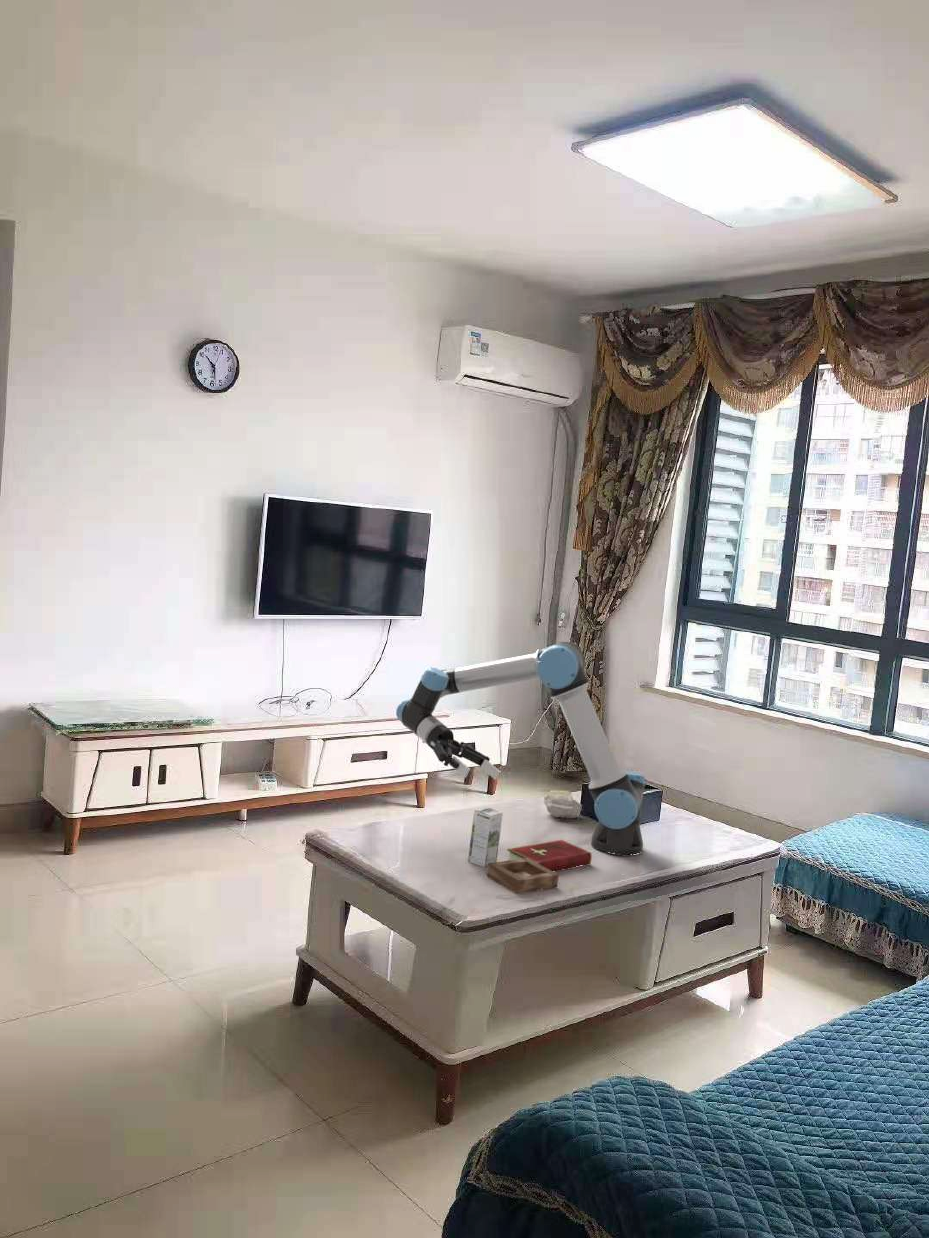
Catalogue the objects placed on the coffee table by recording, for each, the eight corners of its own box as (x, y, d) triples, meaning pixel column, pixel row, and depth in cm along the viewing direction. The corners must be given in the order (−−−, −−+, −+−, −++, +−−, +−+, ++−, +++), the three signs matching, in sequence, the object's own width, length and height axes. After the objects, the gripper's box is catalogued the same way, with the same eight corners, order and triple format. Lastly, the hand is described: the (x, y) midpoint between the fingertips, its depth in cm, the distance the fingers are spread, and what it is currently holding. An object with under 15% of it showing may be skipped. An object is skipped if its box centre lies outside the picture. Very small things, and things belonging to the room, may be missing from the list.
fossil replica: (585, 820, 329) (566, 814, 337) (589, 795, 329) (569, 789, 337) (556, 820, 322) (537, 813, 330) (559, 794, 322) (540, 788, 331)
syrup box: (479, 857, 281) (485, 806, 280) (497, 863, 278) (503, 811, 276) (467, 861, 276) (473, 809, 275) (485, 868, 273) (491, 815, 272)
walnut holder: (525, 870, 274) (527, 857, 274) (557, 887, 264) (558, 874, 263) (486, 876, 267) (488, 863, 266) (517, 893, 256) (519, 880, 256)
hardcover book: (590, 866, 285) (592, 851, 285) (536, 877, 271) (537, 861, 271) (560, 852, 294) (561, 838, 294) (506, 862, 281) (507, 847, 280)
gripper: (457, 749, 306) (504, 788, 293) (400, 742, 288) (447, 784, 274) (469, 727, 305) (516, 765, 292) (412, 719, 286) (459, 760, 273)
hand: (483, 774), depth 283 cm, fingers open, 13 cm apart
